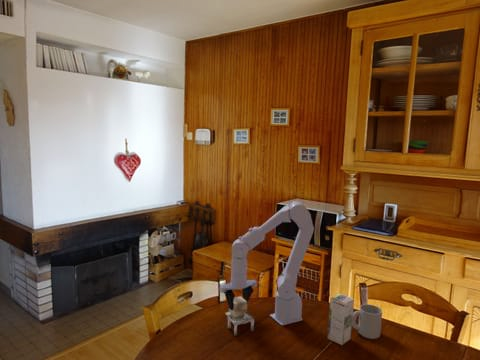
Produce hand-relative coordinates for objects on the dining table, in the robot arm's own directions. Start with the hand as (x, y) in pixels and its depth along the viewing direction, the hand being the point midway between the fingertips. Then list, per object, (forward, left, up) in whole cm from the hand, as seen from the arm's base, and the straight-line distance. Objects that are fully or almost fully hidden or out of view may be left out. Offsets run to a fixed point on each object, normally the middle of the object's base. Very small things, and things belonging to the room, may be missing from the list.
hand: (237, 307), depth 131 cm
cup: (-35, +29, -4) cm, 46 cm away
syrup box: (-24, +28, -4) cm, 37 cm away
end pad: (0, 0, -3) cm, 3 cm away
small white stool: (+3, +8, -3) cm, 10 cm away
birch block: (0, 0, -2) cm, 2 cm away
